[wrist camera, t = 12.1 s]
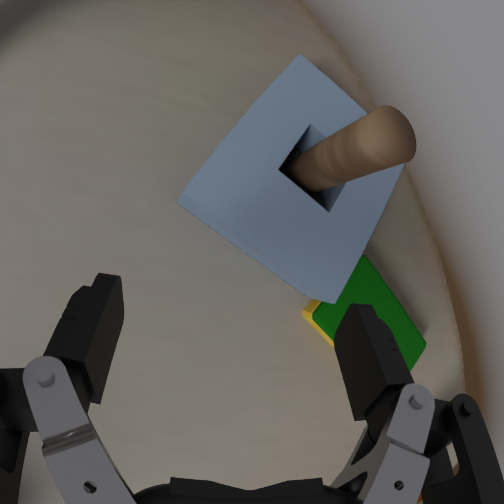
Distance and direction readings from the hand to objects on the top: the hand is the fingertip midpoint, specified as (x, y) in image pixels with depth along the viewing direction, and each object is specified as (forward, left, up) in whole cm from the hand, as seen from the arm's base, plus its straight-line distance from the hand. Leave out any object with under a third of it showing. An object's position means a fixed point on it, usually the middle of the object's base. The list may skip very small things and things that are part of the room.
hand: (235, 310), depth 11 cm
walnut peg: (+3, +12, -13) cm, 17 cm away
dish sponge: (+17, +5, -13) cm, 22 cm away
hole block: (+3, +12, -13) cm, 17 cm away
